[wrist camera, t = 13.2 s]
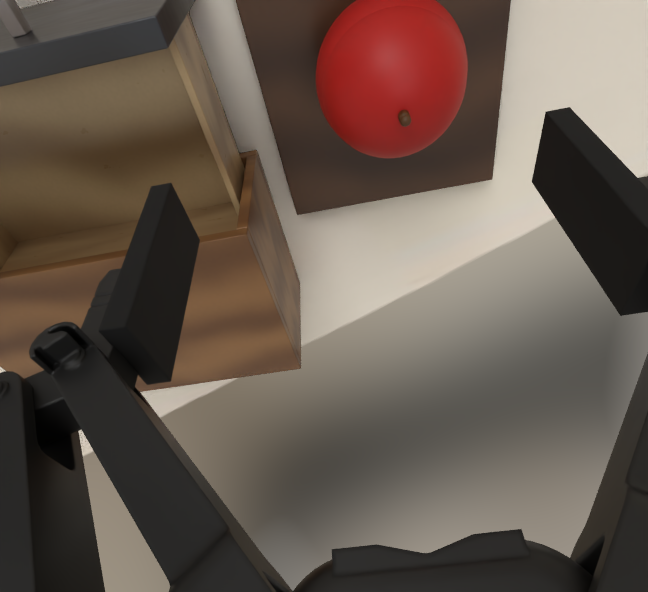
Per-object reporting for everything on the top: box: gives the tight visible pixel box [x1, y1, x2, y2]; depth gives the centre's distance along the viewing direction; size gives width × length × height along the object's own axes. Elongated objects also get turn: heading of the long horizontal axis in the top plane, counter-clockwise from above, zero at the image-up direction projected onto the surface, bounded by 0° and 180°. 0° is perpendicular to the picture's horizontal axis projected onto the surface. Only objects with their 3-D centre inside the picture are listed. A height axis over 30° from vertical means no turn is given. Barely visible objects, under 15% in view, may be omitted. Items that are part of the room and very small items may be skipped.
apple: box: [316, 0, 468, 158], centre depth 26 cm, size 9×9×10 cm
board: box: [236, 0, 511, 215], centre depth 31 cm, size 24×17×2 cm
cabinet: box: [0, 150, 301, 392], centre depth 40 cm, size 16×25×11 cm, turn 101°
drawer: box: [0, 0, 245, 272], centre depth 30 cm, size 20×25×10 cm
